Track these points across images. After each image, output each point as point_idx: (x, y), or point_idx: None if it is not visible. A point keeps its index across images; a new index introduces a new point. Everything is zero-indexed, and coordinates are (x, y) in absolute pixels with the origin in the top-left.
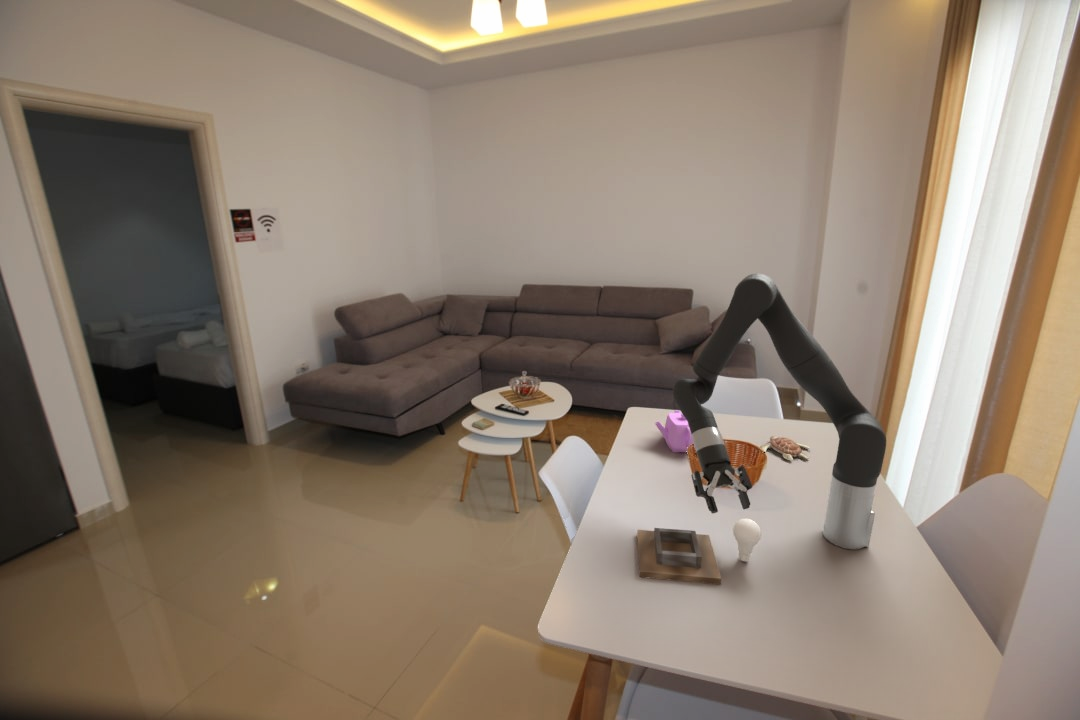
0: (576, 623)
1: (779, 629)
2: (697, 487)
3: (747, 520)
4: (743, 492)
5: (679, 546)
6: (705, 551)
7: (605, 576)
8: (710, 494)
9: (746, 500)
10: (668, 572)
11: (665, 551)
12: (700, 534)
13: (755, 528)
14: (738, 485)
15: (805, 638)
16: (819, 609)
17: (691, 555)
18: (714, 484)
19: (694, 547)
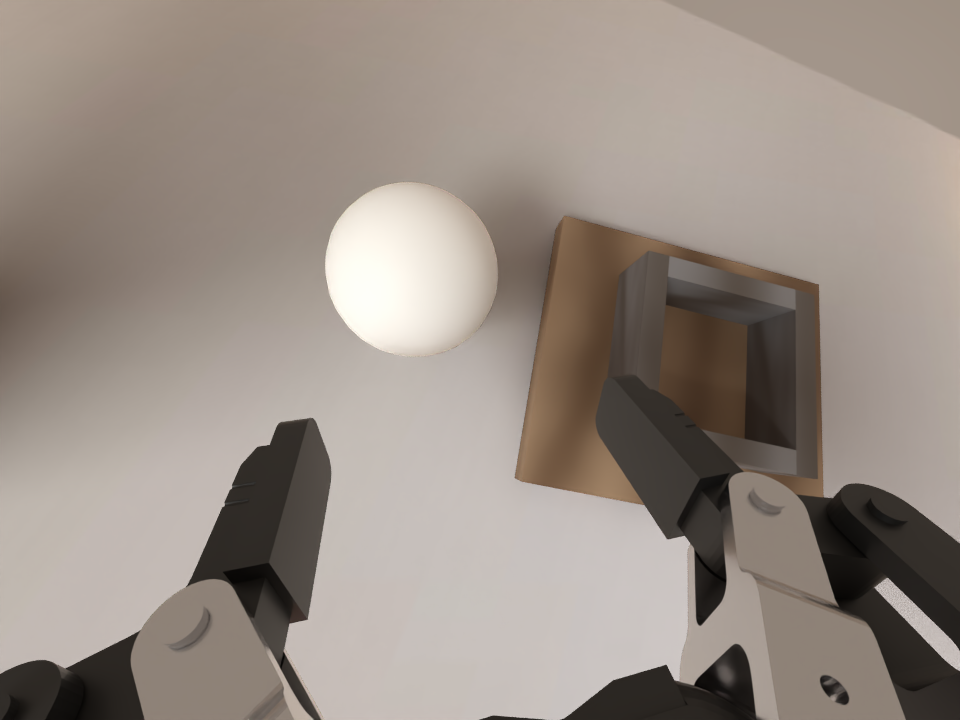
0: (933, 164)
1: (458, 56)
2: (917, 666)
3: (413, 235)
4: (237, 589)
5: None
6: (574, 364)
7: (889, 308)
8: (757, 482)
9: (276, 467)
10: (731, 268)
11: (783, 302)
12: (560, 487)
13: (383, 188)
14: (259, 707)
15: (403, 20)
16: (287, 88)
17: (687, 264)
18: (802, 643)
19: (664, 312)
